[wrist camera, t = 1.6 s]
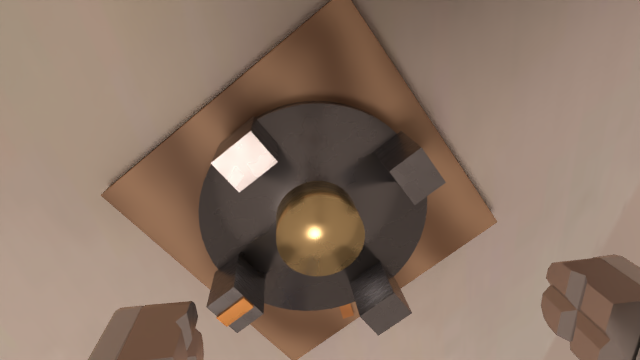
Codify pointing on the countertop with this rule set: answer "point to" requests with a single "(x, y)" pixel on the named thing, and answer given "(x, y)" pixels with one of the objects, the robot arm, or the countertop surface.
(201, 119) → the base plate
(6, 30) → the countertop surface
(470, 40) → the countertop surface
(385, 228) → the lathe chuck
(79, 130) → the countertop surface
